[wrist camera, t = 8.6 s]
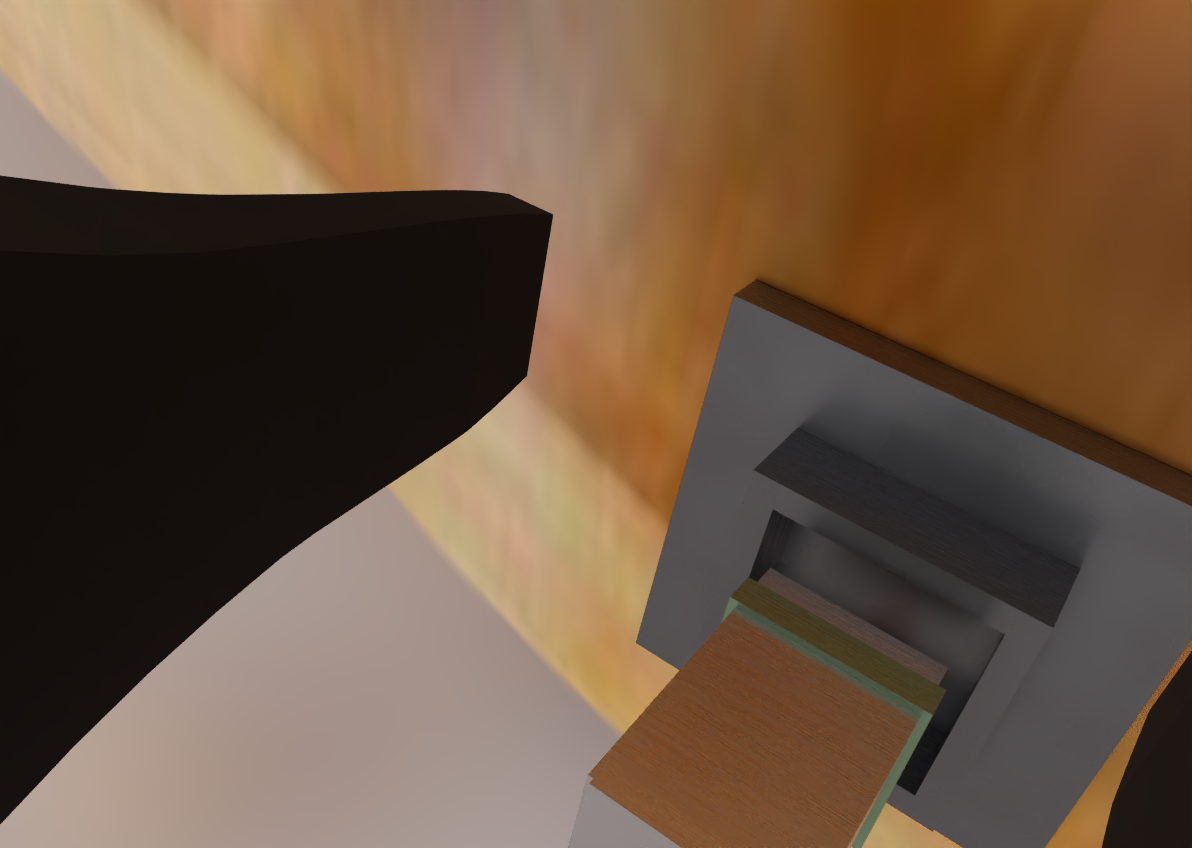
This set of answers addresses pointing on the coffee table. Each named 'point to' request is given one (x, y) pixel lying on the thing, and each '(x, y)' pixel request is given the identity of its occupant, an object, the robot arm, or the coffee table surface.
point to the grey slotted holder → (936, 553)
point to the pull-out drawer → (767, 733)
